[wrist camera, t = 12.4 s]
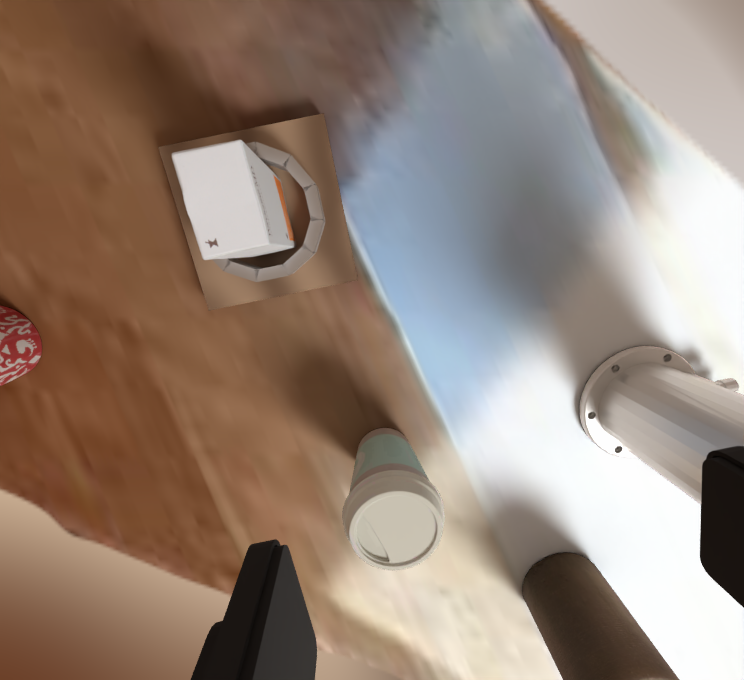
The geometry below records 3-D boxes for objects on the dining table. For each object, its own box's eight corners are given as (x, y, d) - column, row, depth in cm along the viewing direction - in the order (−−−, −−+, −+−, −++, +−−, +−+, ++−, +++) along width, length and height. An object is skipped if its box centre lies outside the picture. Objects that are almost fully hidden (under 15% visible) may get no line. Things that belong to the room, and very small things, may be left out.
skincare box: (299, 247, 34) (271, 247, 22) (252, 257, 34) (200, 263, 22) (281, 175, 32) (241, 136, 21) (232, 186, 32) (165, 152, 21)
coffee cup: (348, 413, 40) (346, 481, 28) (427, 418, 41) (457, 487, 29) (341, 483, 42) (337, 574, 30) (417, 488, 43) (441, 578, 31)
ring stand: (325, 121, 33) (321, 102, 29) (357, 278, 37) (358, 282, 32) (169, 152, 33) (141, 138, 29) (216, 307, 37) (198, 315, 32)
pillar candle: (522, 555, 46) (600, 702, 31) (601, 547, 46) (715, 689, 31) (520, 618, 48) (592, 780, 34) (595, 610, 48) (698, 767, 34)
